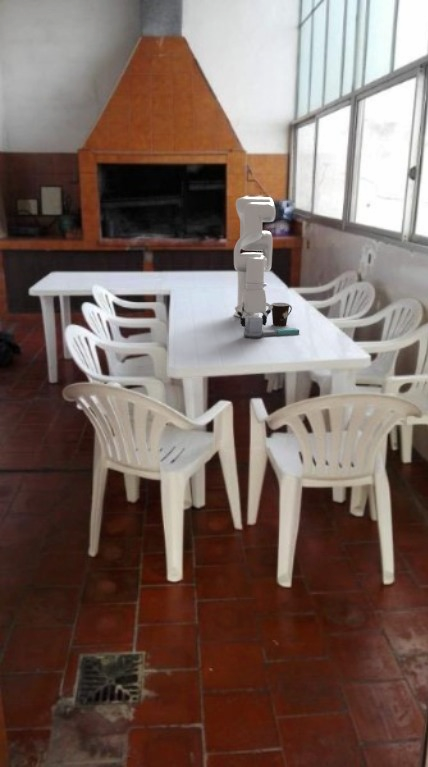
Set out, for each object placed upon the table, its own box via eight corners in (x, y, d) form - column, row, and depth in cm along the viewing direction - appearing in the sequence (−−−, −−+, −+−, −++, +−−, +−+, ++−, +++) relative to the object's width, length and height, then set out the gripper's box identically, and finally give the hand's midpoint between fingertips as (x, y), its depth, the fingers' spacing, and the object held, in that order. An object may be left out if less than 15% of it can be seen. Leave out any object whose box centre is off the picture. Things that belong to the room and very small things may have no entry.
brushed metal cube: (244, 330, 259) (244, 316, 257) (257, 329, 260) (257, 315, 259) (249, 333, 253) (249, 319, 251) (262, 332, 255) (262, 318, 253)
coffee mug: (274, 327, 275) (275, 306, 272) (267, 323, 283) (268, 303, 280) (297, 326, 278) (298, 305, 275) (290, 322, 286) (291, 301, 282)
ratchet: (240, 334, 260) (241, 321, 258) (293, 331, 268) (294, 318, 266) (247, 339, 253) (247, 326, 251) (301, 335, 260) (302, 322, 258)
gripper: (269, 284, 257) (268, 322, 262) (232, 285, 252) (232, 325, 257) (276, 286, 250) (275, 326, 255) (238, 288, 245) (237, 328, 250)
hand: (253, 325), depth 256 cm, fingers open, 9 cm apart
